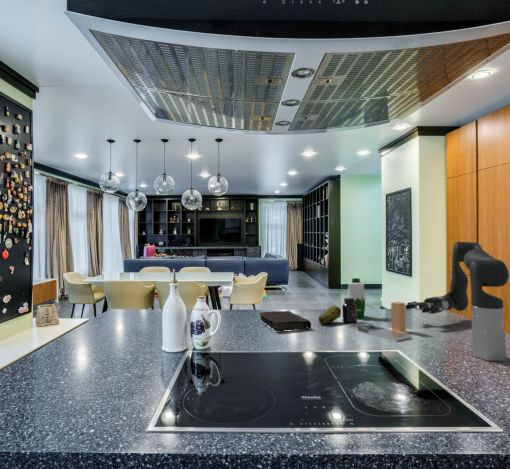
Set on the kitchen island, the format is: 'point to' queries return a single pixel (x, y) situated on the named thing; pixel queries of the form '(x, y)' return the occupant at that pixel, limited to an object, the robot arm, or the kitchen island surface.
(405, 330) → the pad
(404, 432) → the kitchen island surface
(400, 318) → the block
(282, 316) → the diary
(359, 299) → the green and white bottle
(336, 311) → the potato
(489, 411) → the kitchen island surface
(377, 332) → the grey slotted base
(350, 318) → the supplement bottle
